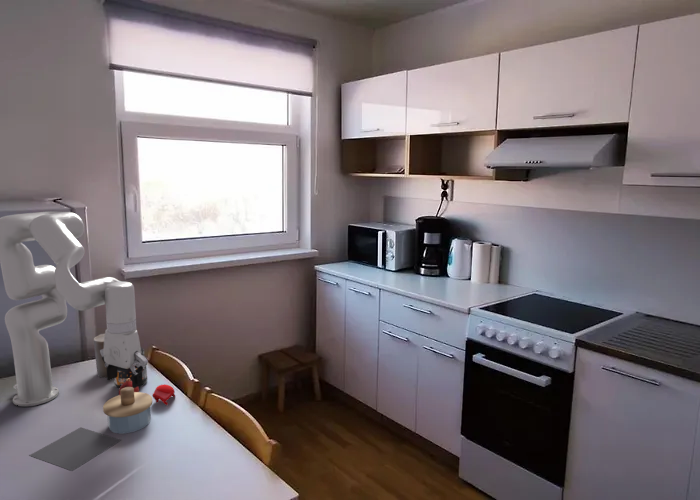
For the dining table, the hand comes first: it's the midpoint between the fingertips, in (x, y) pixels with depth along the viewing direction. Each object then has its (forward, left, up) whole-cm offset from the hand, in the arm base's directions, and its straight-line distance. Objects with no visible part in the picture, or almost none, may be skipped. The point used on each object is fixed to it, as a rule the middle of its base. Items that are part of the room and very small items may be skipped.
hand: (124, 382), depth 142 cm
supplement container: (-20, +20, -13) cm, 31 cm away
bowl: (+1, 0, -13) cm, 13 cm away
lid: (+1, 0, -7) cm, 7 cm away
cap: (0, +15, -13) cm, 20 cm away
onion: (-10, +10, -13) cm, 20 cm away
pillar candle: (-34, +24, -13) cm, 44 cm away
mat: (-2, -15, -13) cm, 20 cm away
